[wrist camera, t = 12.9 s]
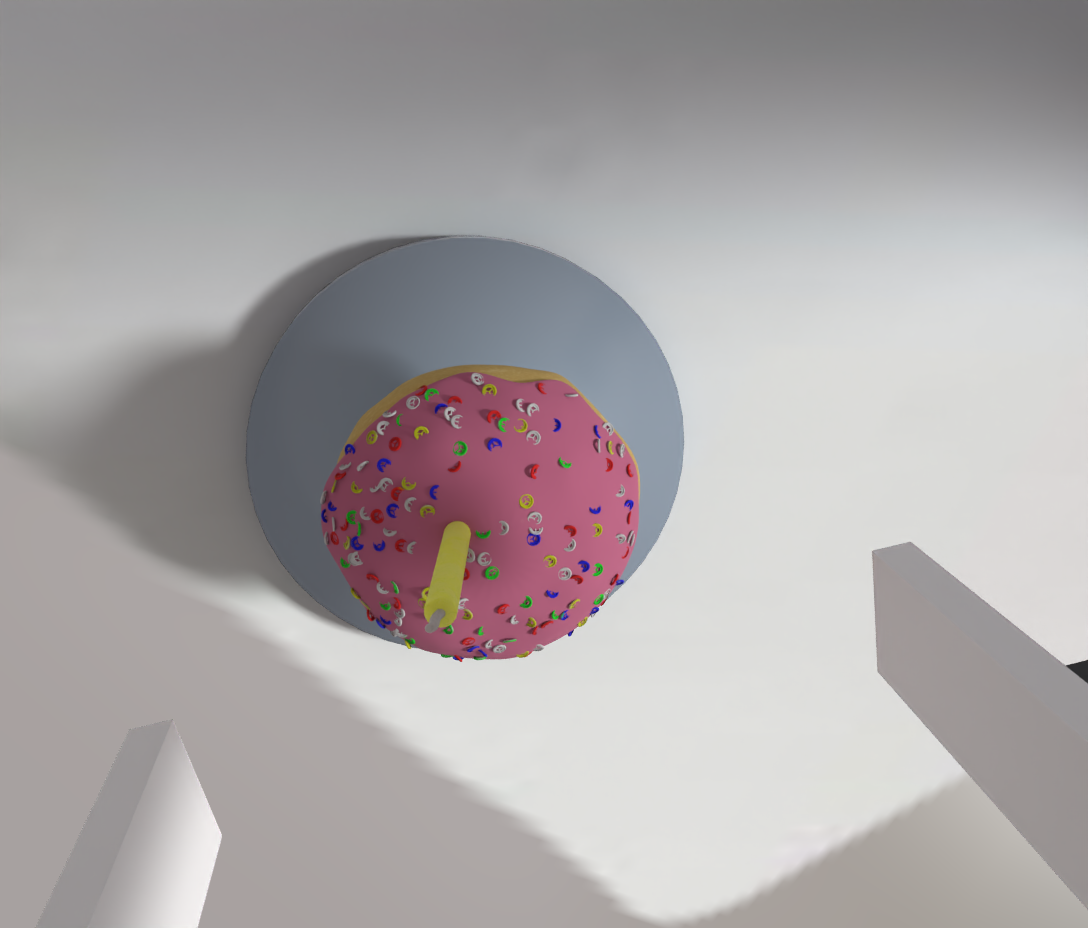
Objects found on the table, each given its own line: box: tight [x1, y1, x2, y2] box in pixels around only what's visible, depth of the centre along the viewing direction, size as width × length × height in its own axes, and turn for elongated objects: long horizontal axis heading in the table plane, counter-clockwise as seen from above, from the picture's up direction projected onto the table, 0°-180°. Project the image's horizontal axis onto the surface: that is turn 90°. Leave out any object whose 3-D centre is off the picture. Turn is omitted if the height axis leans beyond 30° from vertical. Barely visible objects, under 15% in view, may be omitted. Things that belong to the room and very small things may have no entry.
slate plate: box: [246, 236, 684, 649], centre depth 28 cm, size 14×14×1 cm
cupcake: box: [320, 365, 640, 662], centre depth 22 cm, size 9×8×12 cm
